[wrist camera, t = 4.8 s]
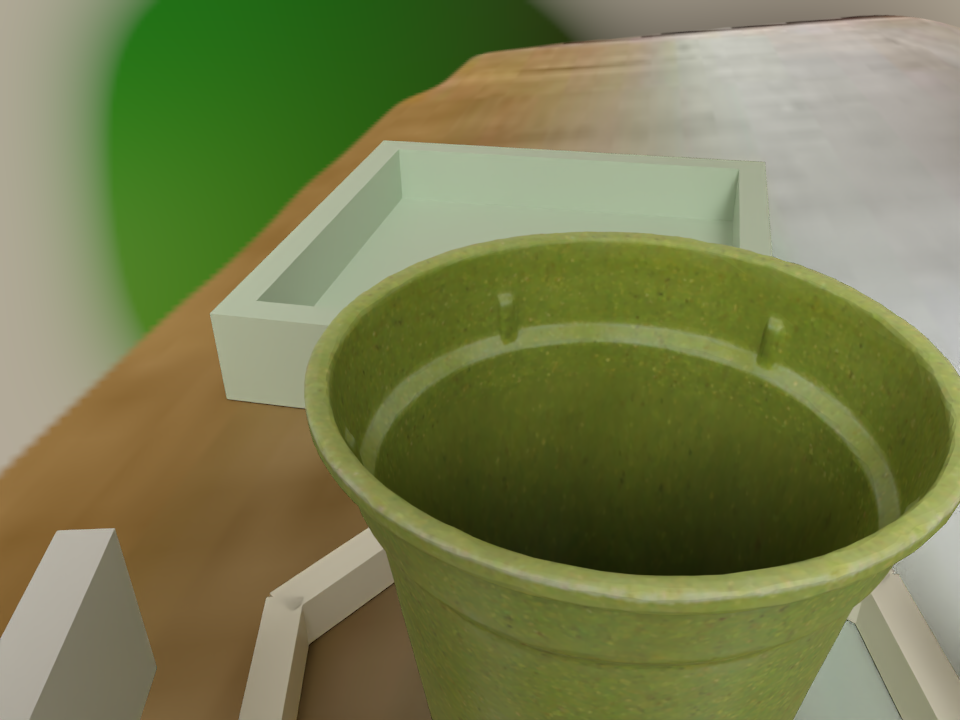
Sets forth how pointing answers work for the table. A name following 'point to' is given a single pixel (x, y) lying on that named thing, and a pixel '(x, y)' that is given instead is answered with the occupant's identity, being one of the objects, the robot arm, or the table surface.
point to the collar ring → (366, 572)
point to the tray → (460, 234)
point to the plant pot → (631, 469)
